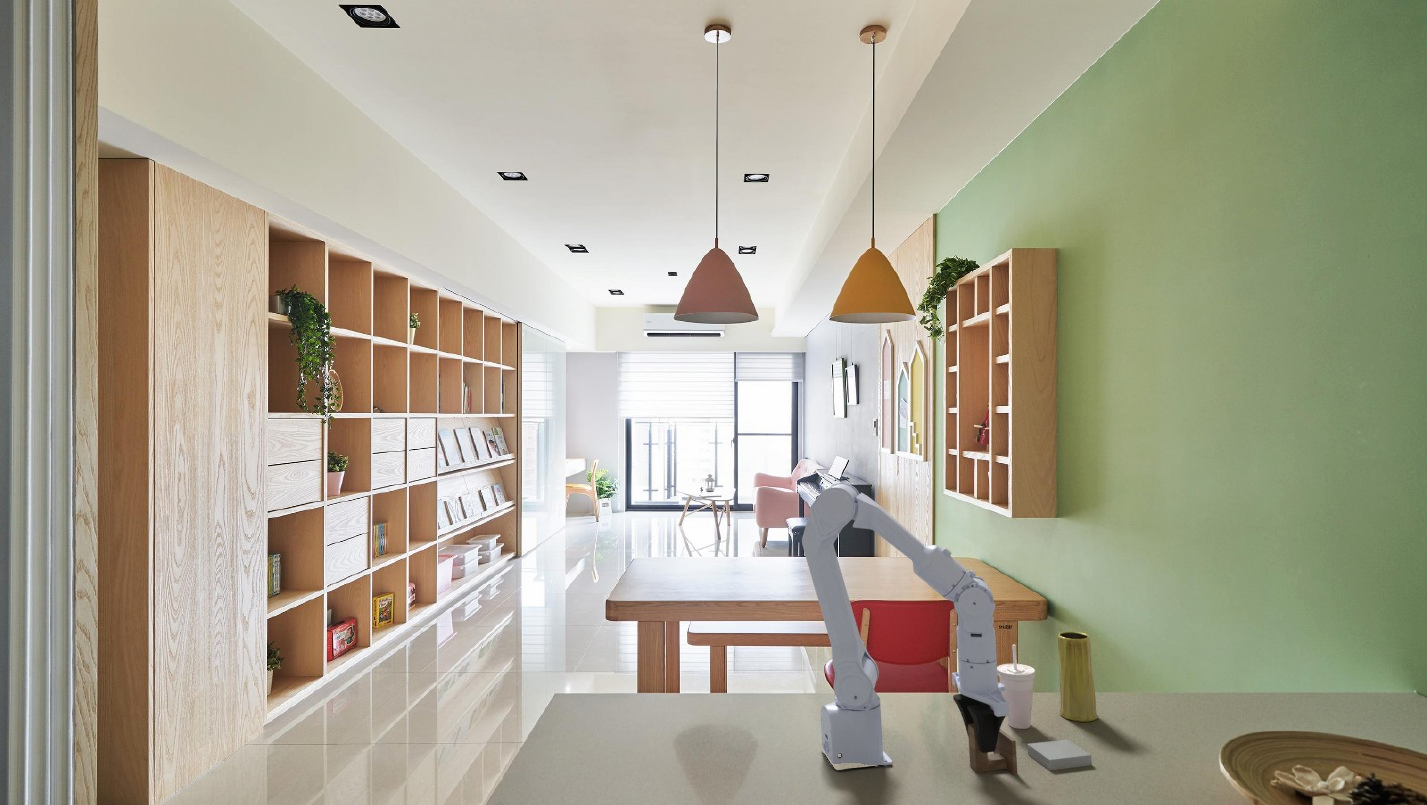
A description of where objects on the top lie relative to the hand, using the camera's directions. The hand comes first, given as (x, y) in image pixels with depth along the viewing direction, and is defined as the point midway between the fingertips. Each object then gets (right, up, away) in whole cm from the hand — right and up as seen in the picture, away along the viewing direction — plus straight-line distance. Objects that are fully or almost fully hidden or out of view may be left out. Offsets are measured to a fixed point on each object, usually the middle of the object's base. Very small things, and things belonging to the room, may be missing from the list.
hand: (982, 746), depth 118 cm
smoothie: (+12, -3, +16) cm, 20 cm away
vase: (+24, -3, +18) cm, 30 cm away
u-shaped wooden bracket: (+1, -3, 0) cm, 3 cm away
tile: (+9, -2, +1) cm, 9 cm away
